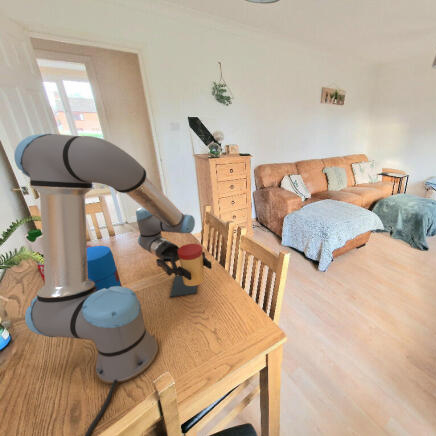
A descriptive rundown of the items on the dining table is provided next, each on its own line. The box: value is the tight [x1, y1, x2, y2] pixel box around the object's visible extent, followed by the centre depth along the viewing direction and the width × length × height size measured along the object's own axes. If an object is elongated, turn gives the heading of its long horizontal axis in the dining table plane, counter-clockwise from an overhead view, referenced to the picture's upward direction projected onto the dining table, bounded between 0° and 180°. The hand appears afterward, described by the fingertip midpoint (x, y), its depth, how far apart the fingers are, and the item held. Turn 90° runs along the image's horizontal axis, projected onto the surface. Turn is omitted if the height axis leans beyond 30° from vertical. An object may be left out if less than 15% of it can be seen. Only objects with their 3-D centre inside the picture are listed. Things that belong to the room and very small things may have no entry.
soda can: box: [37, 262, 45, 284], centre depth 99 cm, size 6×6×12 cm
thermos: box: [87, 245, 123, 292], centre depth 84 cm, size 11×11×25 cm
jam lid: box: [178, 243, 204, 260], centre depth 84 cm, size 8×8×2 cm
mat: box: [169, 275, 198, 298], centre depth 104 cm, size 14×10×1 cm
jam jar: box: [179, 255, 206, 286], centre depth 87 cm, size 8×8×13 cm
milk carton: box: [23, 228, 43, 264], centre depth 108 cm, size 9×9×20 cm
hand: (200, 270), depth 84 cm, fingers closed on jam jar, 8 cm apart
